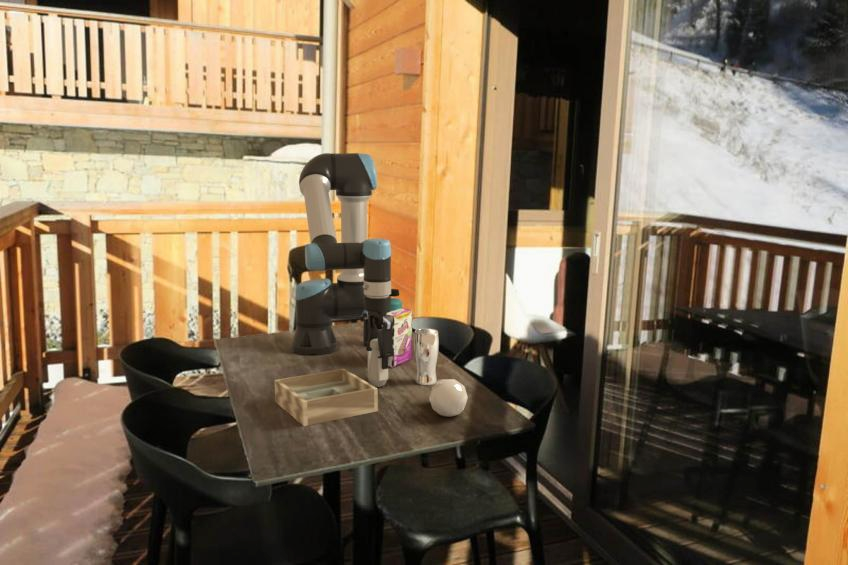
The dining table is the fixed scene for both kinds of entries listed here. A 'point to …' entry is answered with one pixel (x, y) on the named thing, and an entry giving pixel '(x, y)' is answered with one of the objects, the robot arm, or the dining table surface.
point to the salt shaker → (374, 365)
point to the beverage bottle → (395, 300)
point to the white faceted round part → (448, 397)
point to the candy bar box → (400, 336)
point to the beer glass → (426, 355)
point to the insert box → (325, 396)
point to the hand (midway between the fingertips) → (377, 376)
